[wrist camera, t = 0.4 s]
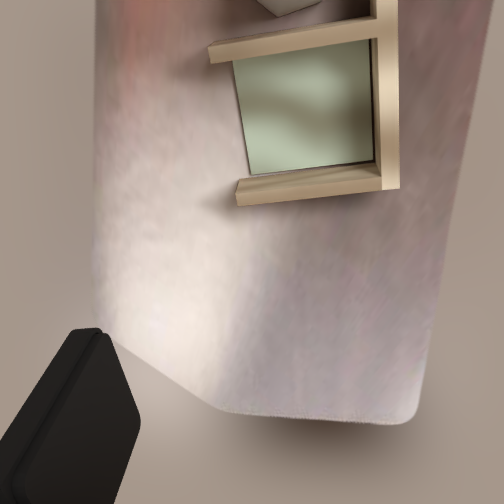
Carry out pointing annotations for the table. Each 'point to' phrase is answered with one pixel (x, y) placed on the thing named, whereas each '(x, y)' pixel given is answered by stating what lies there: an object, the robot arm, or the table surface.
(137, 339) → the table surface
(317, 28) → the comb rack
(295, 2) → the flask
